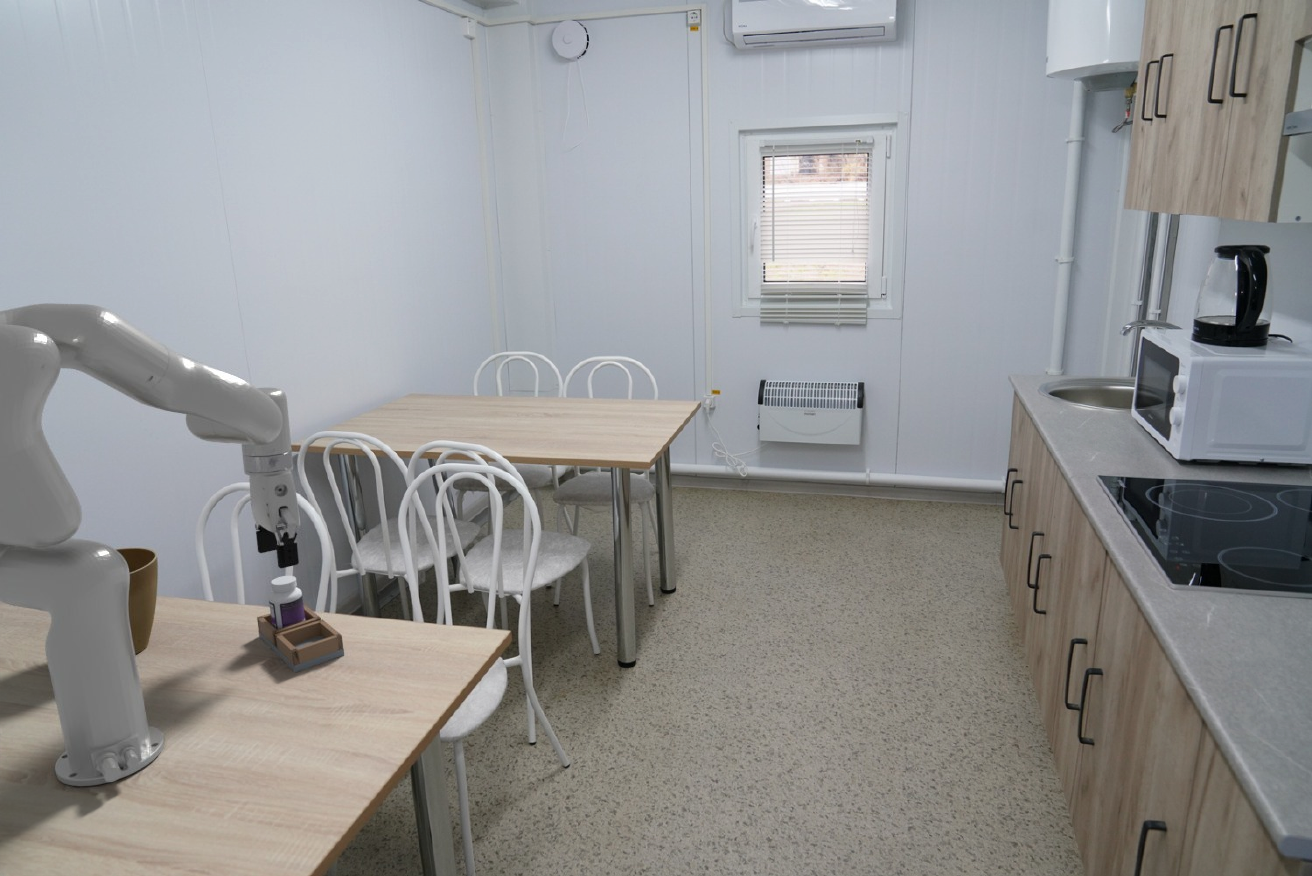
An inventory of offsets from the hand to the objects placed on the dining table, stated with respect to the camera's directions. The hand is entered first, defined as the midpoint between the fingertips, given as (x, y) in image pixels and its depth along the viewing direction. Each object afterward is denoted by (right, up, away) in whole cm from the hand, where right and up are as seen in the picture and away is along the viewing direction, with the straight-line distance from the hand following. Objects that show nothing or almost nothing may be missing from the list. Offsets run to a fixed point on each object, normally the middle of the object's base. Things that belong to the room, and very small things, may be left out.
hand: (278, 558), depth 144 cm
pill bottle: (0, -14, +4) cm, 14 cm away
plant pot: (-27, -16, 0) cm, 31 cm away
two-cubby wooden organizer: (+3, -15, +1) cm, 16 cm away
